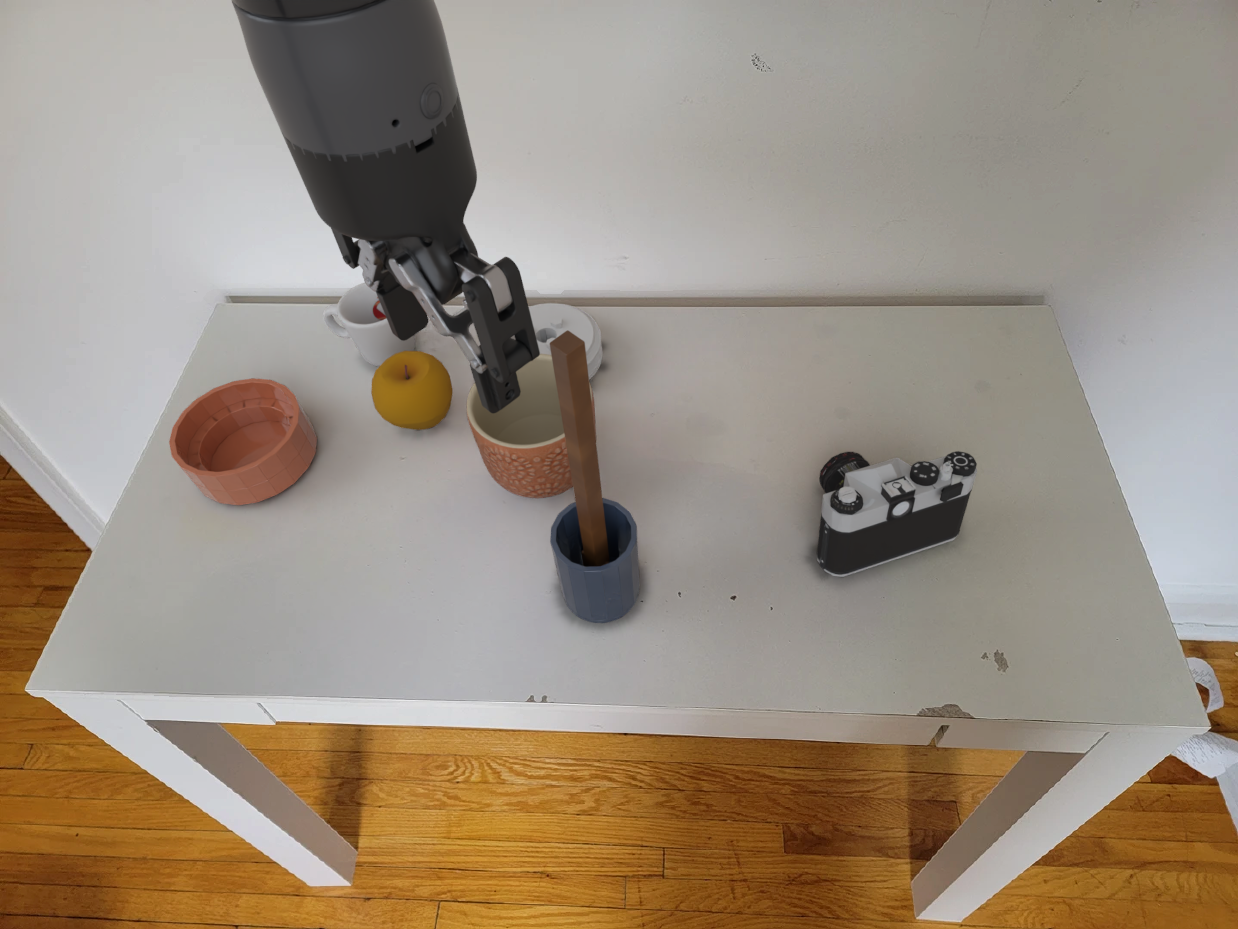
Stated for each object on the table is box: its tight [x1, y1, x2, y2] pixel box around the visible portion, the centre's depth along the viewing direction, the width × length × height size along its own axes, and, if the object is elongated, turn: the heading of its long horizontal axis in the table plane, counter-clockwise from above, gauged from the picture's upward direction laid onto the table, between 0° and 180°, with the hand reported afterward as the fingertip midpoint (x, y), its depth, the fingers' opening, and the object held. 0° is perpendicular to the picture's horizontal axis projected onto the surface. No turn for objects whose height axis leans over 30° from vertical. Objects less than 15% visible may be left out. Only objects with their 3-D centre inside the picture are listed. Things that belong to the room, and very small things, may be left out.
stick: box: [550, 330, 610, 567], centre depth 60 cm, size 2×3×32 cm, turn 45°
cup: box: [322, 282, 416, 367], centre depth 91 cm, size 11×8×8 cm
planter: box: [466, 354, 597, 499], centre depth 78 cm, size 12×12×11 cm
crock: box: [549, 497, 641, 624], centre depth 70 cm, size 7×7×10 cm
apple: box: [370, 350, 454, 431], centre depth 84 cm, size 9×8×9 cm
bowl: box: [168, 377, 318, 506], centre depth 83 cm, size 13×13×6 cm
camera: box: [816, 450, 978, 578], centre depth 73 cm, size 15×11×10 cm
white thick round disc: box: [528, 302, 604, 380], centre depth 90 cm, size 13×13×5 cm
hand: (455, 365), depth 45 cm, fingers open, 8 cm apart
